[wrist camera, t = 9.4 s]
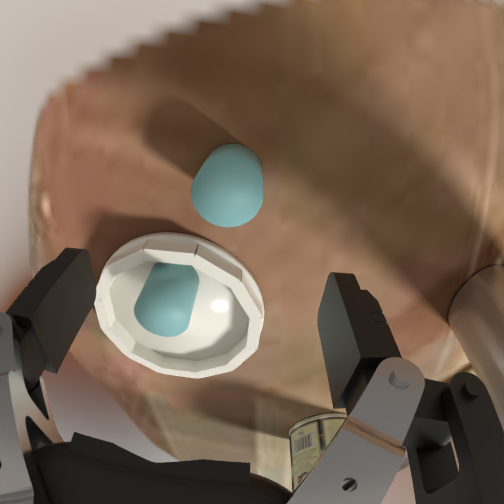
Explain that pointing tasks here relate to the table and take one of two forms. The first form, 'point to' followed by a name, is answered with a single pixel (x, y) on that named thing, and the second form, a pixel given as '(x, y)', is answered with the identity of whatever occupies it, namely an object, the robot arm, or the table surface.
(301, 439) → the coffee can
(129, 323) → the ring tray
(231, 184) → the bead
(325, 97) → the table surface
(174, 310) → the bead
